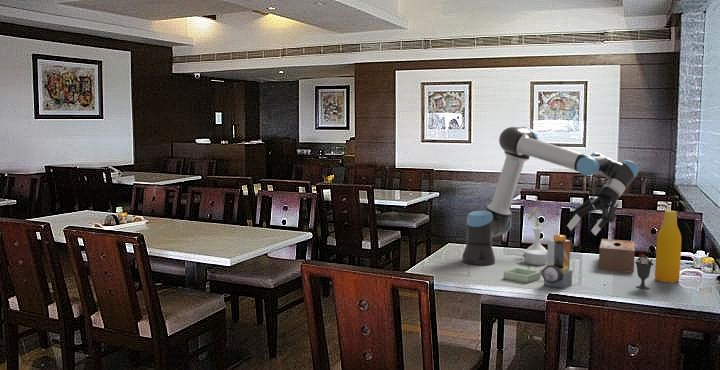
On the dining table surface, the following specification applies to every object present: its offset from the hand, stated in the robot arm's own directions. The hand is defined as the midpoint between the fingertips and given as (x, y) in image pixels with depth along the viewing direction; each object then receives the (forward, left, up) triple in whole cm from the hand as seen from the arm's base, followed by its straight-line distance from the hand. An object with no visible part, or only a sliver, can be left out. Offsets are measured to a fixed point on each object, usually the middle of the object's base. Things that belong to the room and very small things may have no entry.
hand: (580, 230), depth 251 cm
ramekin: (-31, +24, -22) cm, 45 cm away
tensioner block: (-5, -11, -22) cm, 25 cm away
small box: (-18, +19, -22) cm, 34 cm away
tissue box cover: (-2, +46, -22) cm, 51 cm away
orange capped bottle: (-5, -10, -16) cm, 19 cm away
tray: (-20, -10, -22) cm, 31 cm away
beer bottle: (+24, +31, -22) cm, 45 cm away
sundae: (+21, +10, -22) cm, 32 cm away
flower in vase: (-38, +38, -22) cm, 58 cm away
